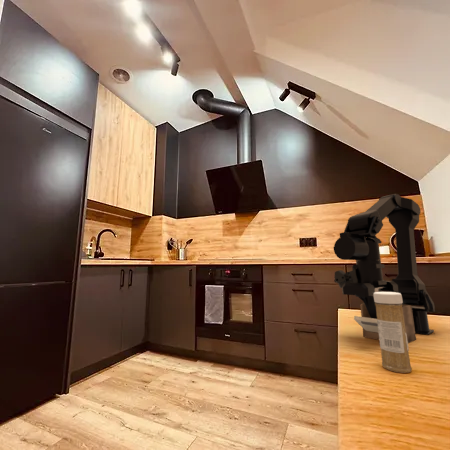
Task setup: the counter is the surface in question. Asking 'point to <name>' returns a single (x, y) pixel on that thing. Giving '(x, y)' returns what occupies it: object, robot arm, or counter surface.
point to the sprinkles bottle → (392, 332)
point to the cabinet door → (367, 323)
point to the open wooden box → (407, 320)
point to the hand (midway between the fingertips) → (375, 322)
